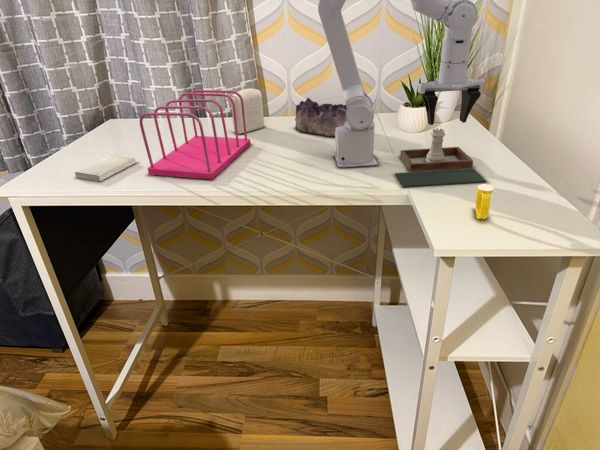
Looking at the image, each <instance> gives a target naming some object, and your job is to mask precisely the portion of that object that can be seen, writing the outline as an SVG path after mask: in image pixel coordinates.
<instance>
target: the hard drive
mask: <svg viewBox="0 0 600 450" xmlns="http://www.w3.org/2000/svg"><path fill="white" fill-rule="evenodd" d="M136 163H137V160H136V158H135V157H133V156H132V157H131V156H126V155H125V156H123V155H115V154H112V155H109V156H107V157H105V158H103V159H100V160H99V161H96V162H94V163H91V164H90V165H88V166H86V167H83V168H81V169H79V170H77V171H75V172H74V175H75V178H77V179H83V180H88V181H95V182H102V181H103V180H105V179H107V178H109V177H111V176H113V175H115V174H117V173H119V172H120V171H123V170H126V168H129V167H131V166H132V165H134V164H136Z"/></svg>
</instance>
